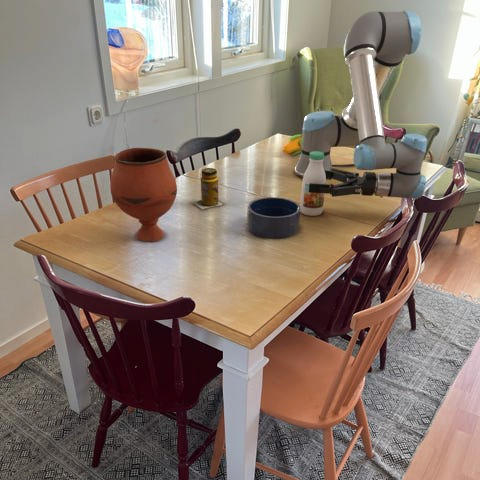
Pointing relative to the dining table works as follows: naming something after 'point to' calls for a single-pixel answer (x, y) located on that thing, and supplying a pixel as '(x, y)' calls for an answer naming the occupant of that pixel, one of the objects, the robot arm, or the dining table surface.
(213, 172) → the condiment
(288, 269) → the dining table surface
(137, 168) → the goblet
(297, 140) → the corn
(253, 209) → the pot
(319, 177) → the milk bottle
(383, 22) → the robot arm
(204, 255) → the dining table surface
